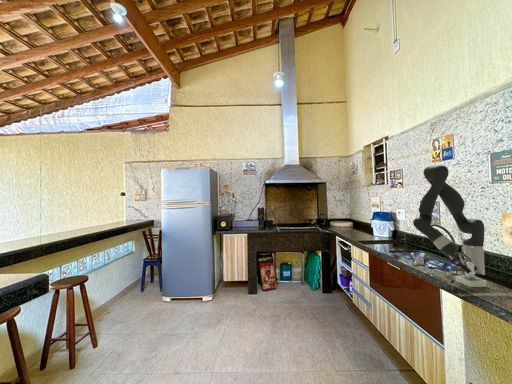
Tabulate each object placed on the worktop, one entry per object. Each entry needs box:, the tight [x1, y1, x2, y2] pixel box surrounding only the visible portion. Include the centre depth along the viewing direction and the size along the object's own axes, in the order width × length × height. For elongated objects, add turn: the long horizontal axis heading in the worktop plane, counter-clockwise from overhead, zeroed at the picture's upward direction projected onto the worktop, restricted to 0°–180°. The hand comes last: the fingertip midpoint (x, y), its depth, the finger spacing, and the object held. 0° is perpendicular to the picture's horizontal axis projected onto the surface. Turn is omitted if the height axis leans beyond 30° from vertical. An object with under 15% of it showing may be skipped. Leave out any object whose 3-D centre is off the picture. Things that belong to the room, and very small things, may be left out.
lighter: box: [410, 252, 424, 266], centre depth 165 cm, size 7×2×8 cm, turn 78°
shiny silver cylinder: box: [464, 262, 476, 281], centre depth 123 cm, size 4×4×11 cm
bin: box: [455, 276, 488, 288], centre depth 122 cm, size 9×9×4 cm
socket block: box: [444, 272, 465, 282], centre depth 131 cm, size 7×7×3 cm
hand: (473, 271), depth 122 cm, fingers open, 8 cm apart
